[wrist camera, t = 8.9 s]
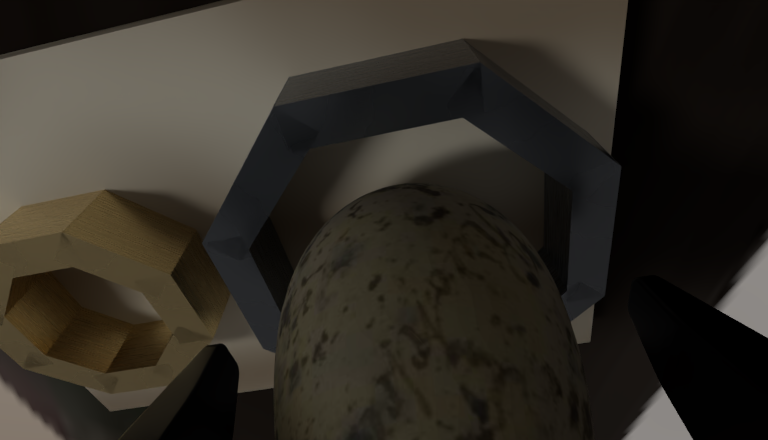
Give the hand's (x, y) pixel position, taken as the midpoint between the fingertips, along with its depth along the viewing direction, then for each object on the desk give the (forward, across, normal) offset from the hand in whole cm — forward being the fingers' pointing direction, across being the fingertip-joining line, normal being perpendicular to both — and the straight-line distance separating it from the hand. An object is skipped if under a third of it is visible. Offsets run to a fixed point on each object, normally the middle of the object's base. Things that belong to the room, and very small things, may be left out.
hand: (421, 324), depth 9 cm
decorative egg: (+4, 0, 0) cm, 4 cm away
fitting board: (+5, +4, 0) cm, 6 cm away
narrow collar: (+5, +9, 0) cm, 10 cm away
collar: (+5, 0, 0) cm, 5 cm away
